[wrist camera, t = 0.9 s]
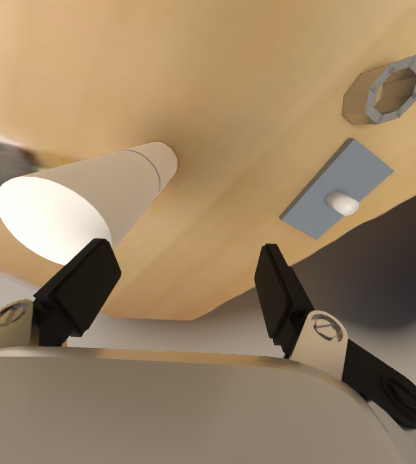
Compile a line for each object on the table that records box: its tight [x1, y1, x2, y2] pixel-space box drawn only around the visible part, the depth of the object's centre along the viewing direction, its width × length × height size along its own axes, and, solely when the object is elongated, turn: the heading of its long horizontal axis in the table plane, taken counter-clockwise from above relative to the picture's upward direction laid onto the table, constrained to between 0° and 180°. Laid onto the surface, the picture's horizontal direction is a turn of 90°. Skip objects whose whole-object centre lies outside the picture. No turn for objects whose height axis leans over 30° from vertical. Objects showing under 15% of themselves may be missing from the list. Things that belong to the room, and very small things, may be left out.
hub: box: [342, 55, 416, 125], centre depth 24 cm, size 7×7×5 cm
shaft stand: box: [280, 138, 394, 239], centre depth 32 cm, size 18×11×6 cm, turn 152°
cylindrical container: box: [0, 142, 178, 265], centre depth 22 cm, size 7×7×25 cm
